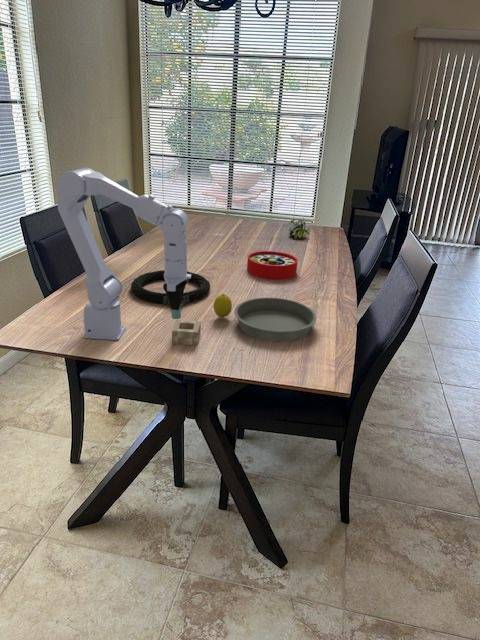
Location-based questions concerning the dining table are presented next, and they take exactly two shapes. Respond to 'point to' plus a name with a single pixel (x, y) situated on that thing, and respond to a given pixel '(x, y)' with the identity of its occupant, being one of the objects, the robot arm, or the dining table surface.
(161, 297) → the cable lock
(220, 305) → the lemon
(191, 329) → the beige socket block
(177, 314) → the peg
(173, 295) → the robot arm
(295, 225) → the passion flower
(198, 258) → the dining table surface
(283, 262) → the toy clock
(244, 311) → the cake pan
